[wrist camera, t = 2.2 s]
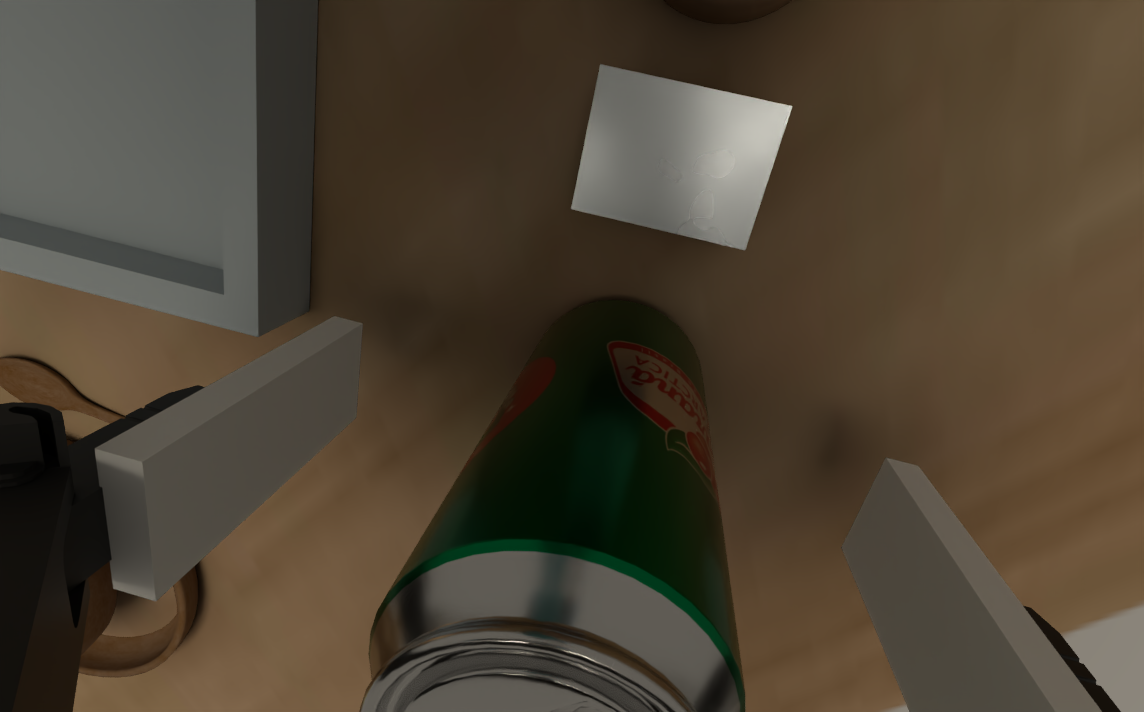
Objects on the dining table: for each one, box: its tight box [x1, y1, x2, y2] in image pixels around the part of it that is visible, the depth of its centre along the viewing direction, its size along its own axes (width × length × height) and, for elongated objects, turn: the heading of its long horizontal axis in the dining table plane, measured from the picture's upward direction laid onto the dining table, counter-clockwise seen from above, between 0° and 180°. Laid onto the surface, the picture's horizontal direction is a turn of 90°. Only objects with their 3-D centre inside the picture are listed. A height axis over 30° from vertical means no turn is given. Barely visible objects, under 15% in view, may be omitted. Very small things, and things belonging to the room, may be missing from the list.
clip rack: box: [571, 64, 792, 250], centre depth 16 cm, size 34×4×3 cm, turn 168°
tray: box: [0, 0, 318, 337], centre depth 15 cm, size 13×13×2 cm
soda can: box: [359, 300, 745, 712], centre depth 12 cm, size 5×5×12 cm
